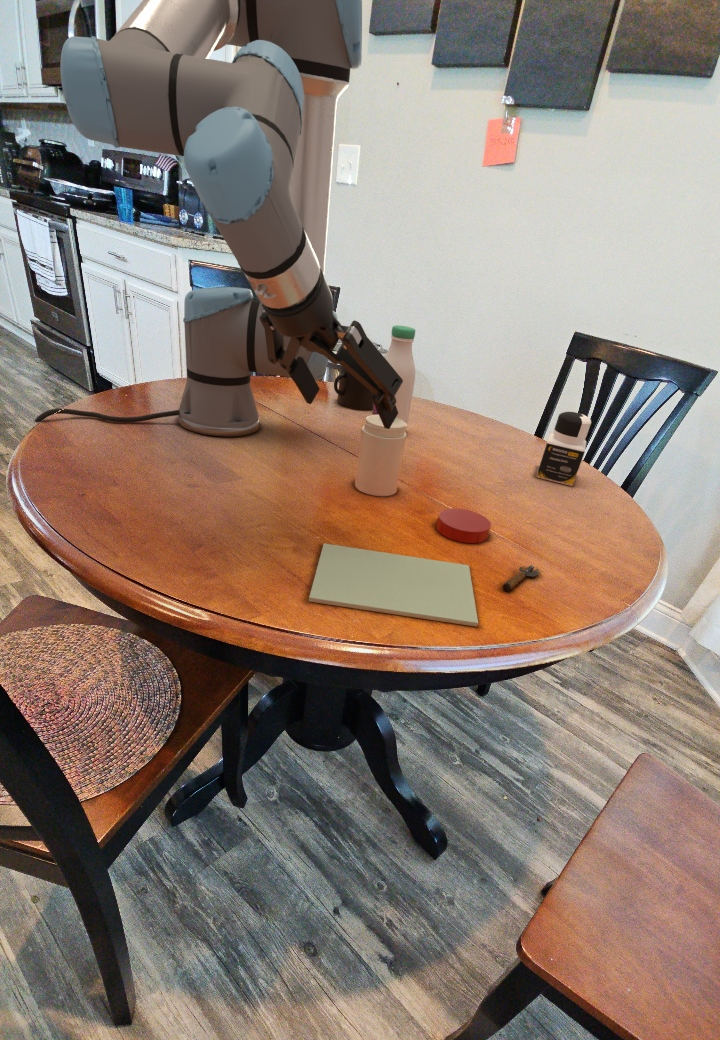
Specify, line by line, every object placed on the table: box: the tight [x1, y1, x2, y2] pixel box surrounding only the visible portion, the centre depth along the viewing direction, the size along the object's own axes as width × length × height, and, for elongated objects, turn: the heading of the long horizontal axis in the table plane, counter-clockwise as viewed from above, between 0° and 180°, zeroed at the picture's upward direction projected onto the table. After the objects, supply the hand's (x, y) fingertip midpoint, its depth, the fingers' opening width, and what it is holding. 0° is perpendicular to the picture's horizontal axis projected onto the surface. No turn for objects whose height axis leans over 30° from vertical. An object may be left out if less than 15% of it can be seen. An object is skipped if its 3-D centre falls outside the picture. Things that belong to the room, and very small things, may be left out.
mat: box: [308, 543, 479, 627], centre depth 74 cm, size 20×14×1 cm
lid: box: [435, 507, 492, 544], centre depth 89 cm, size 8×8×2 cm
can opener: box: [502, 564, 540, 592], centre depth 79 cm, size 9×2×1 cm, turn 136°
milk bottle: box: [371, 324, 416, 433], centre depth 120 cm, size 8×8×20 cm
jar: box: [354, 414, 407, 497], centre depth 96 cm, size 7×7×11 cm
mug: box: [333, 365, 374, 411], centre depth 136 cm, size 9×12×9 cm
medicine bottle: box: [535, 411, 592, 487], centre depth 112 cm, size 7×7×12 cm
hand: (351, 408), depth 83 cm, fingers open, 13 cm apart
